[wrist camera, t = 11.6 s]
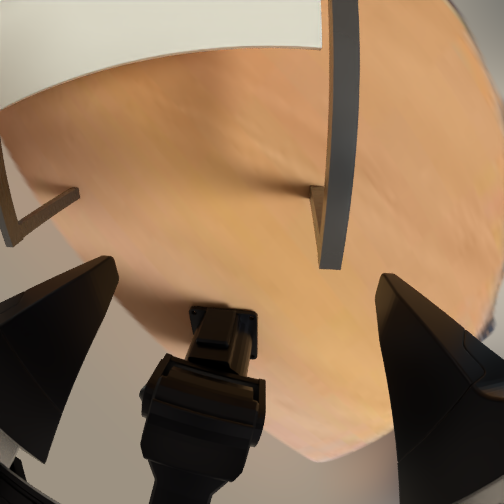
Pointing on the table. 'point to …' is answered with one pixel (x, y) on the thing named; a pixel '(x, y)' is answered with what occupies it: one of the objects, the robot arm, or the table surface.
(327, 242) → the cover frame
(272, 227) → the table surface
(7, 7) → the sliding cover
